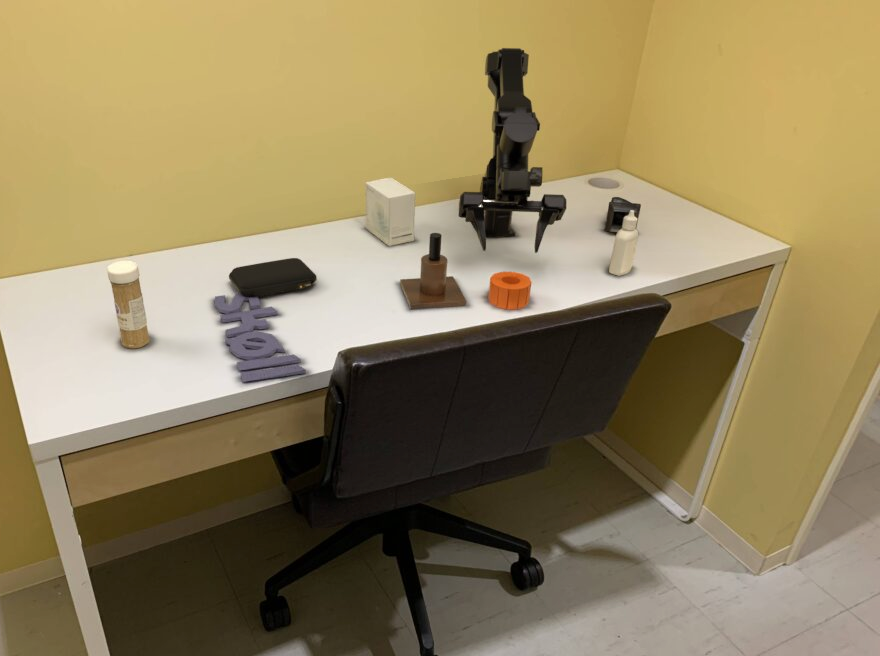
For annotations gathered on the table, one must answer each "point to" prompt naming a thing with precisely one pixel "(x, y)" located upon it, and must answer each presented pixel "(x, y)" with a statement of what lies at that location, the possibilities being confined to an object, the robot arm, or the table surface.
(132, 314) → the sprinkles bottle
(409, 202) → the cosmetics box
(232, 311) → the signage
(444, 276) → the stand
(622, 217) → the dark grey hollow box
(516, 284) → the ring
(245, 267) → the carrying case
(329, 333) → the table surface
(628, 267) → the eye dropper bottle
